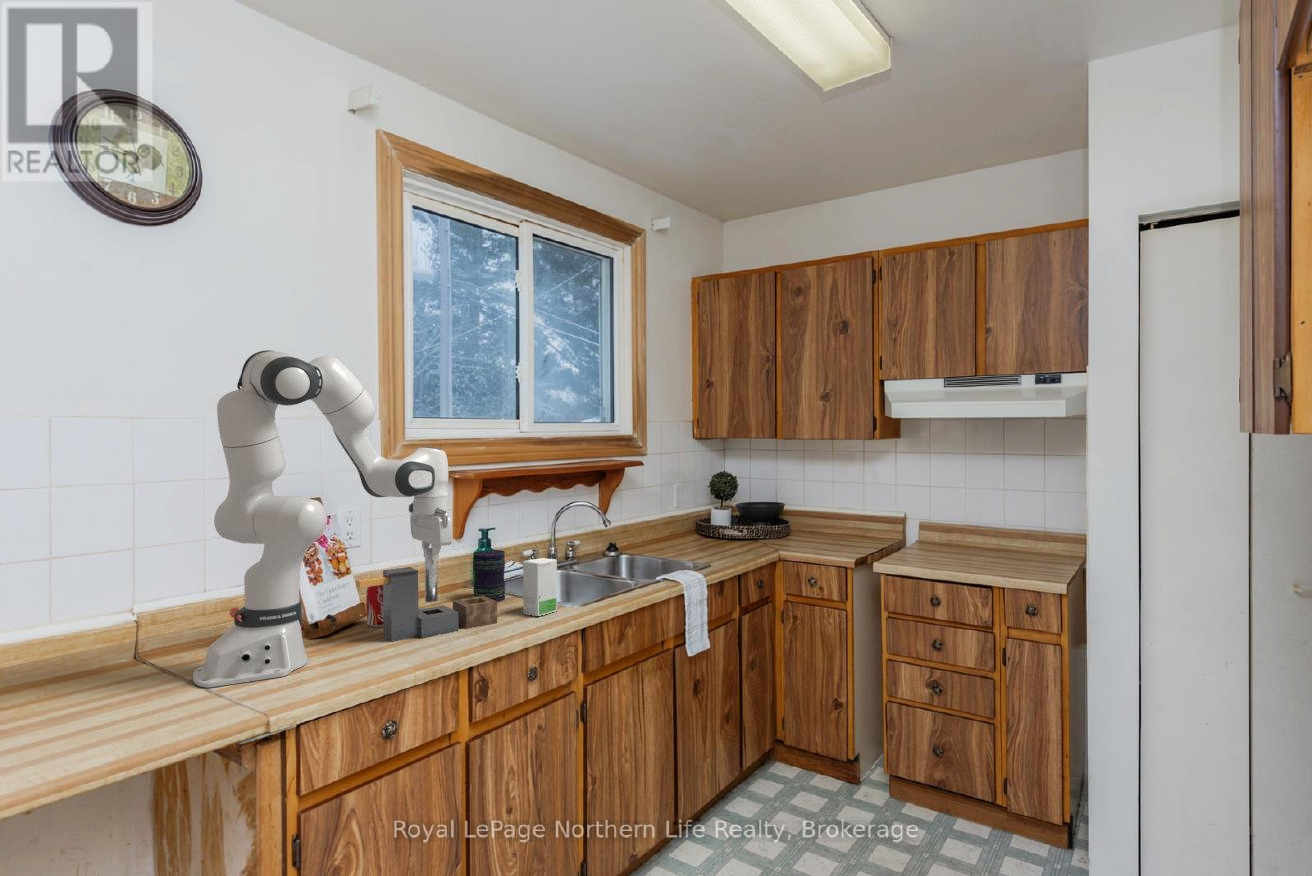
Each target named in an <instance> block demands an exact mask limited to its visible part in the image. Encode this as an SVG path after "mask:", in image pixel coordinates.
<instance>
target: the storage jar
mask: <svg viewBox="0 0 1312 876" xmlns="http://www.w3.org/2000/svg"><path fill="white" fill-rule="evenodd" d="M505 554H506V553H505V551H504V550H501V549H500V550H499V549H486V550H477V551H474V552H473V561H472V562H473V563H472V565H473V573H474V576H473V577H474V582H473V584H472V585H473V597H478V596H485V597H487V598H490V599H492V600H495V601H497V603H500V602H503V601H505V600H506V595H505V594H506V581H505V569H506V565H505V564H506V558H505Z"/></svg>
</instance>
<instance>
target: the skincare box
mask: <svg viewBox="0 0 1312 876" xmlns="http://www.w3.org/2000/svg"><path fill="white" fill-rule="evenodd" d="M557 561H558V560H557V559H554V558H544V557H542V558H541V557H540V558H535V559H534V558H533V559H528V560H523V561H522V566H523V567H522V570H523V571H522V572H523V573H522V574H523V575H522V577H523V578H522V579H523V580H522V581H523V582H522V583H523V585H522V587H523V591H522V592H523V593H522V595H523V602H522V603H523V604H522V605H523V615H525V614H526V616H530V615H532V616H531V617H535V616H540V617H542V616H541V615H543V616H546V615H545V614H547V615H549V614H548V613H551V614H553V613H552V612H555V613H557V612H558V579H557V578H558V572H557V571H558V562H557ZM556 611H557V612H556Z"/></svg>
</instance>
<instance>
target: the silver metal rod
mask: <svg viewBox="0 0 1312 876" xmlns="http://www.w3.org/2000/svg"><path fill="white" fill-rule="evenodd" d="M430 553H432V547H431V548H425V557H424V601H425V603H434V602H437V601H438V594H439V591H438V589H439V587H438V582H439V581H438V577H439V576H438V572H439V571H438V570H439V569H438V568H439V567H438V565H439V564H438V563H439V562H438V561H439V559H438V560H434V561H433V560H431V559H430Z"/></svg>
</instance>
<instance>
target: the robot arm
mask: <svg viewBox="0 0 1312 876" xmlns="http://www.w3.org/2000/svg"><path fill="white" fill-rule="evenodd" d="M242 366H243V367H242V368H241V372H240V376H239V379H238V381H237V384H236V387H237V389H236V390H232V391H230V392H227V393H226V394H224V395H223V396H221V398H220V399H219V400H218V402H217V403H216V404H217V405H216V413H217V414H216V415H217V427H218V431H219V432H218V433H219V437H220V442H221V446H222V450H223V453H224V458H225V462H226V466H227V472H228V478H229V487H228V492H227V496H226V498H225V499H224V500H223V501H222V502H221V503H220V505H218V506H217V509H216V511H215V513H214V518H213V519H214V520H213V523H214V528H215V531H216V532H217V534H218V535H219V537H221V538H222V539H226V540H229V541H232V542H237V543H240V544H254V545H255V544H257V545H258V544H259V545H261V544H262V545H263V552H262V555H261V558H260V560H259V561H256V563H254V564H253V565H251V566H250V567H248V569H247V570H246V572H245V573H244V581H243V583H244V584H243V585H244V592H243V593H244V594H243V595H244V606H243V607H241V608H240V609H239V608H238V607H232V608H230V610H229V616H230V617H231V618H233V620H234V621H233V622H234V626H232V627H231V628H230V629H228V631H226V632H225V633H223V635H221V636H220V637H218V638H217V639H216V640H215V641H214V642H212V643H211V644H210V646H209V647H208V649H207V652H206V655H205V658H204V659H205V660H204V665H203V666H200V667H198V668H196V669H195V670H194V671H193V673H192V682H193V683H194V684H195V685H197V686H199V687H201V688H206V689H207V688H215V687H223V686H228V685H234V684H241V683H248V682H254V681H261V680H268V679H273V678H274V679H275V678H280V677H285V676H287V675H289V674H290V673H292V672H293V671H295V670H297V669H299V668H301V667H303V666H305V665H307V663H308V662H309V658H308V656H307V652H306V647H305V644H304V640H303V634H302V633H303V632H302V625H303V619H304V618H303V614H304V613H303V603H302V601H301V600H300V585H301V584H300V582H301V579H300V578H301V570H302V569H301V568H302V564H303V561H304V559H305V555H306V554H307V552H308V550H309V549H310V547H312V545H313V544H315V542H316V541H317V540H319V539H320V538H321V537H322V536H323V535H324V533H325V530H326V529H327V524H328V513H327V511H326V509H325V507H324V505H323V504H322V502H320V501H319V500H315V499H313V498H308V497H303V496H297V495H294V496H293V495H275V494H274V492H273V482H274V481H275V480H276V479H278V478H279V477H280V476H282V474H283V472H284V470H285V468H286V460H285V455H284V451H283V448H282V442H281V438H280V435H279V434H280V433H279V431H278V428H277V427H278V426H277V424H276V421H275V420H276V411H277V408H278V406H279V405H280V406H296V405H299V404H301V403H304V402H306V401H310V400H311V401H312V402H313V403H314V405H316V407H317V408H318V410H319V411H320V412H321V414H322V415H323V416H324V417H325V419H326V420H327V421H328V422H329V424H330V425H331V427H332V430H333V433H334V436H335V438H336V439H337V441H338V442H339V444H340V445H341V447H342V449H343V450H344V452H345V453H346V455H347V456H348V458H349V459H350V460H351V462H352V464H353V465H354V467H355V468H356V470H357V473H358V475H359V479H360V482H361V485H362V487H363V489H364V490H365V491H366V492H367V494H369V495H370V496H372V497H374V498H387V497H390V498H412V497H413V501H412V502H411V503H410V504H409V505H408V513H410V515H409V516H410V517H409V522H410V534H411V537H412V539H414V540H418V541H420V542H421V547H422V550H423V558H425V548H432V553H430V559H431V560H433V561H434V560H438V561H439V559H440V551H441V549H442V547H444V546H450V545H452V542H453V526H452V519H451V517H450V516H449V515H448V514H449V492H448V491H449V490H448V483H449V463H448V462H449V460H448V457H447V453H446V451H444V450H443V449H442V448H438V447H433V446H420V447H417V448H416V450H415V451H414V452H412V454H410V455H408V456H406V457H404V458H402V459H388V458H386V457H383V456H381V455H380V454H379V453H378V452H377V450H376V449H375V447H374V445H373V444H372V443H371V441H370V439H369V437H368V436H367V435H366V432H365V429H367V428H368V427H369V426H370V424H371V423H372V421H373V420H374V419H375V415H376V406H375V403H374V400H373V398H372V396H371V395H370V394H369V392H368V390H366V388H365V387H364V386H363V384H362V383H361V382H360V381H359V379H358V378H357V377H356V376H355V374H354V373H353V372H351V370H350V369H349V368H348V367H347V366H345V364H344V363H343V362H341V361H340V359H338V358H336V357H334V356H332V355H324V356H323V355H322V356H319V357H316V358H314V359H312V360H311V361H309V362H306V361H304V360H302V359H300V358H297V357H294V356H293V355H290V354H288V353H287V352H286V353H285V352H282V351H275V350H268V349H267V350H261V351H258V352H255V353H253V354H251V355H250V356H249V357H247V359H246V360H245V362H244V364H243V365H242Z"/></svg>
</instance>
